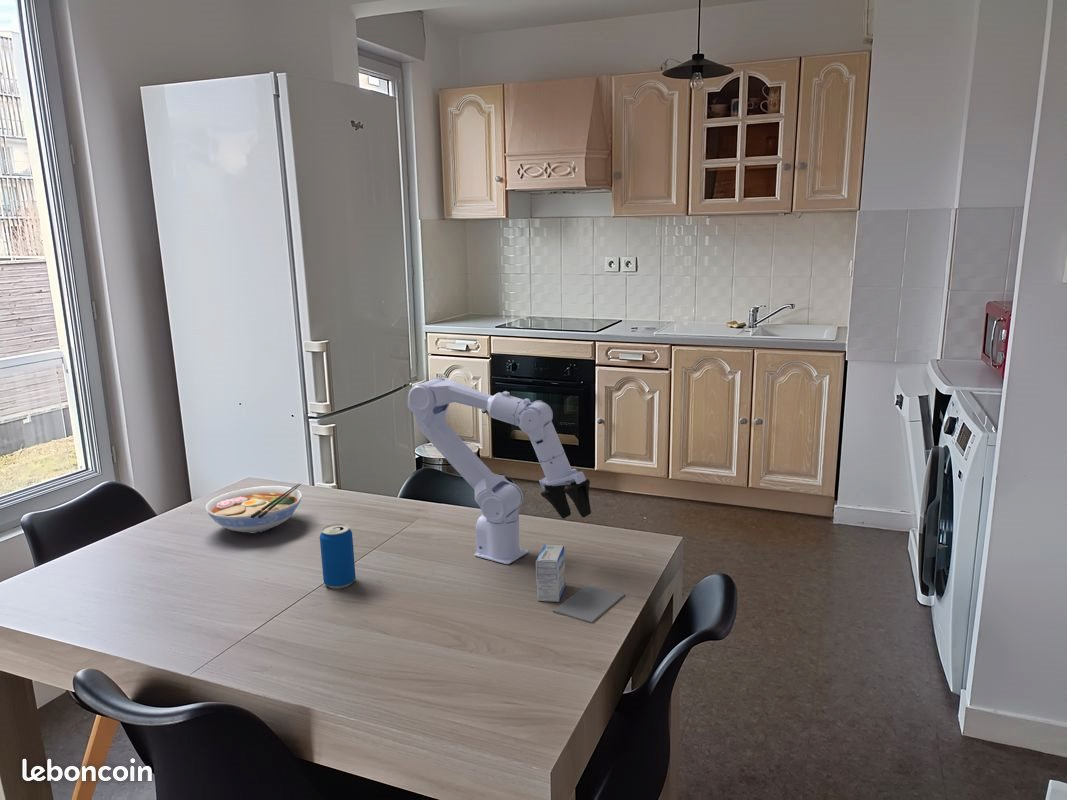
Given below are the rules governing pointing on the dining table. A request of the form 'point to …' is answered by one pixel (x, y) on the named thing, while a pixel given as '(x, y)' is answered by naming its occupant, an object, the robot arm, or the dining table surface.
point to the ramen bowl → (254, 507)
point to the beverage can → (337, 556)
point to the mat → (589, 603)
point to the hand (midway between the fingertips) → (576, 516)
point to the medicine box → (550, 573)
